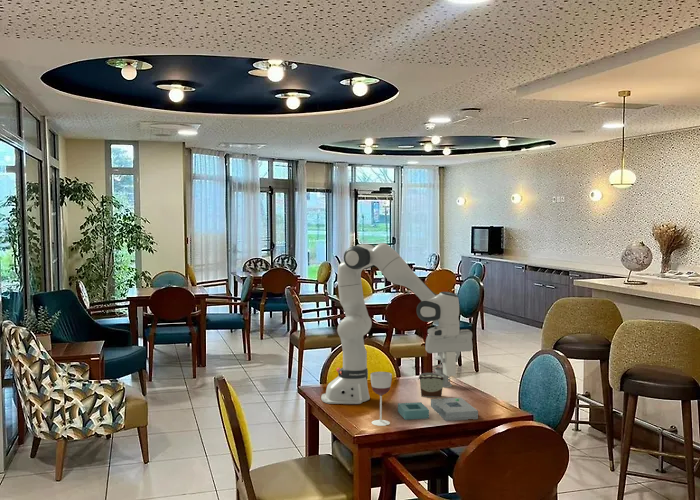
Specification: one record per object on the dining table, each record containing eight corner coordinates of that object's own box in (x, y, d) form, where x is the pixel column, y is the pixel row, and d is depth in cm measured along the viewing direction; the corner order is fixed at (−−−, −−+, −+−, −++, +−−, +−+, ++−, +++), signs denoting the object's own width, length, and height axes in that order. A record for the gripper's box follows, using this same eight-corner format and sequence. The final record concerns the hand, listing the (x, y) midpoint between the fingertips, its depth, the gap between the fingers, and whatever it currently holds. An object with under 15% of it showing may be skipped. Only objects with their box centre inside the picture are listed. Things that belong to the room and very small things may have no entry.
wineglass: (367, 420, 255) (368, 372, 254) (388, 419, 257) (388, 371, 256) (373, 426, 248) (373, 376, 247) (393, 425, 250) (394, 375, 249)
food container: (443, 393, 296) (444, 373, 296) (444, 397, 290) (444, 376, 290) (418, 392, 297) (418, 372, 297) (418, 396, 291) (418, 375, 291)
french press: (452, 383, 316) (453, 334, 315) (451, 389, 305) (452, 338, 304) (433, 382, 318) (433, 333, 317) (431, 387, 307) (432, 337, 306)
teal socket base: (404, 419, 257) (405, 411, 256) (397, 411, 268) (397, 403, 268) (429, 418, 259) (429, 410, 258) (421, 410, 270) (421, 402, 270)
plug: (446, 375, 262) (446, 352, 262) (442, 373, 267) (442, 350, 266) (455, 375, 263) (455, 351, 262) (451, 372, 268) (451, 349, 267)
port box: (445, 420, 255) (445, 411, 255) (430, 406, 275) (430, 398, 275) (477, 419, 258) (478, 409, 258) (460, 405, 278) (460, 396, 277)
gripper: (469, 328, 269) (469, 359, 269) (424, 329, 266) (424, 361, 266) (474, 330, 263) (475, 362, 263) (428, 332, 259) (428, 365, 260)
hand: (449, 362), depth 265 cm, fingers closed on plug, 4 cm apart
